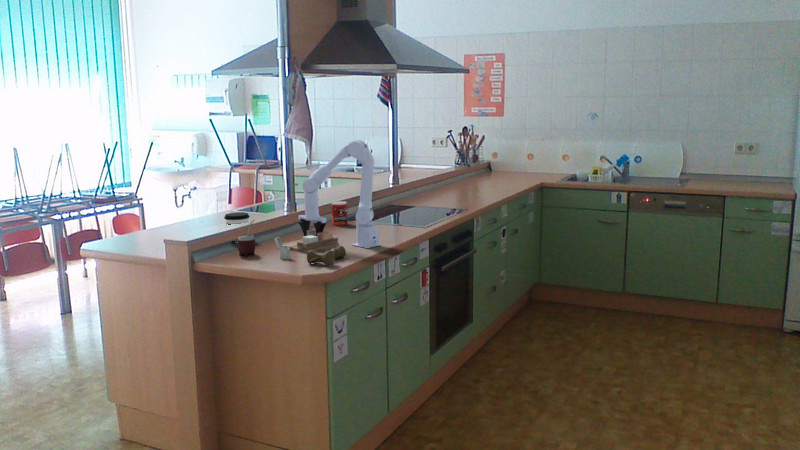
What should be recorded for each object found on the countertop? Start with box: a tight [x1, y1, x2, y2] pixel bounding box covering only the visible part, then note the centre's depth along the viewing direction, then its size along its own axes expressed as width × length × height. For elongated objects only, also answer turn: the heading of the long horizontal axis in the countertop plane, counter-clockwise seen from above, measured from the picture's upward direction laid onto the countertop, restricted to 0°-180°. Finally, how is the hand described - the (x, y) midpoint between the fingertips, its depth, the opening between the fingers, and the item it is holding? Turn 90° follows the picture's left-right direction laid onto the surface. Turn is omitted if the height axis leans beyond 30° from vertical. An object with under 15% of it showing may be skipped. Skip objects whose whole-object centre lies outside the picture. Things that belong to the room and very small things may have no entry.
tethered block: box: [307, 228, 334, 241], centre depth 291 cm, size 11×5×5 cm, turn 46°
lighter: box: [273, 236, 291, 260], centre depth 271 cm, size 7×2×8 cm, turn 52°
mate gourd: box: [236, 219, 256, 258], centre depth 276 cm, size 8×8×15 cm
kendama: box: [306, 245, 347, 267], centre depth 263 cm, size 6×10×20 cm
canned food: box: [331, 200, 349, 227], centre depth 340 cm, size 8×8×11 cm
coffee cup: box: [223, 211, 250, 225], centre depth 304 cm, size 11×11×12 cm
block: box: [301, 235, 318, 244], centre depth 284 cm, size 4×4×4 cm
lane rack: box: [281, 236, 340, 254], centre depth 291 cm, size 19×17×4 cm
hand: (312, 237), depth 295 cm, fingers open, 7 cm apart
